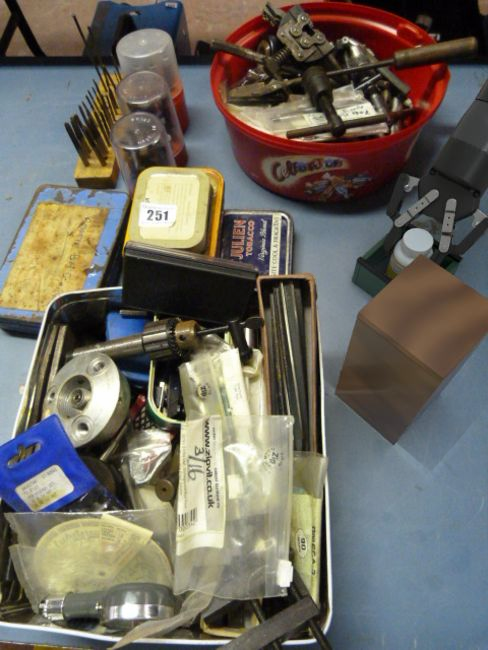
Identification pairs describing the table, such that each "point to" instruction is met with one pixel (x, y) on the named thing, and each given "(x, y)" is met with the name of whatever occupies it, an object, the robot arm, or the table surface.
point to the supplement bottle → (409, 250)
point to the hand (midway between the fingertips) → (405, 262)
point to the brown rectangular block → (410, 346)
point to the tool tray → (377, 280)
